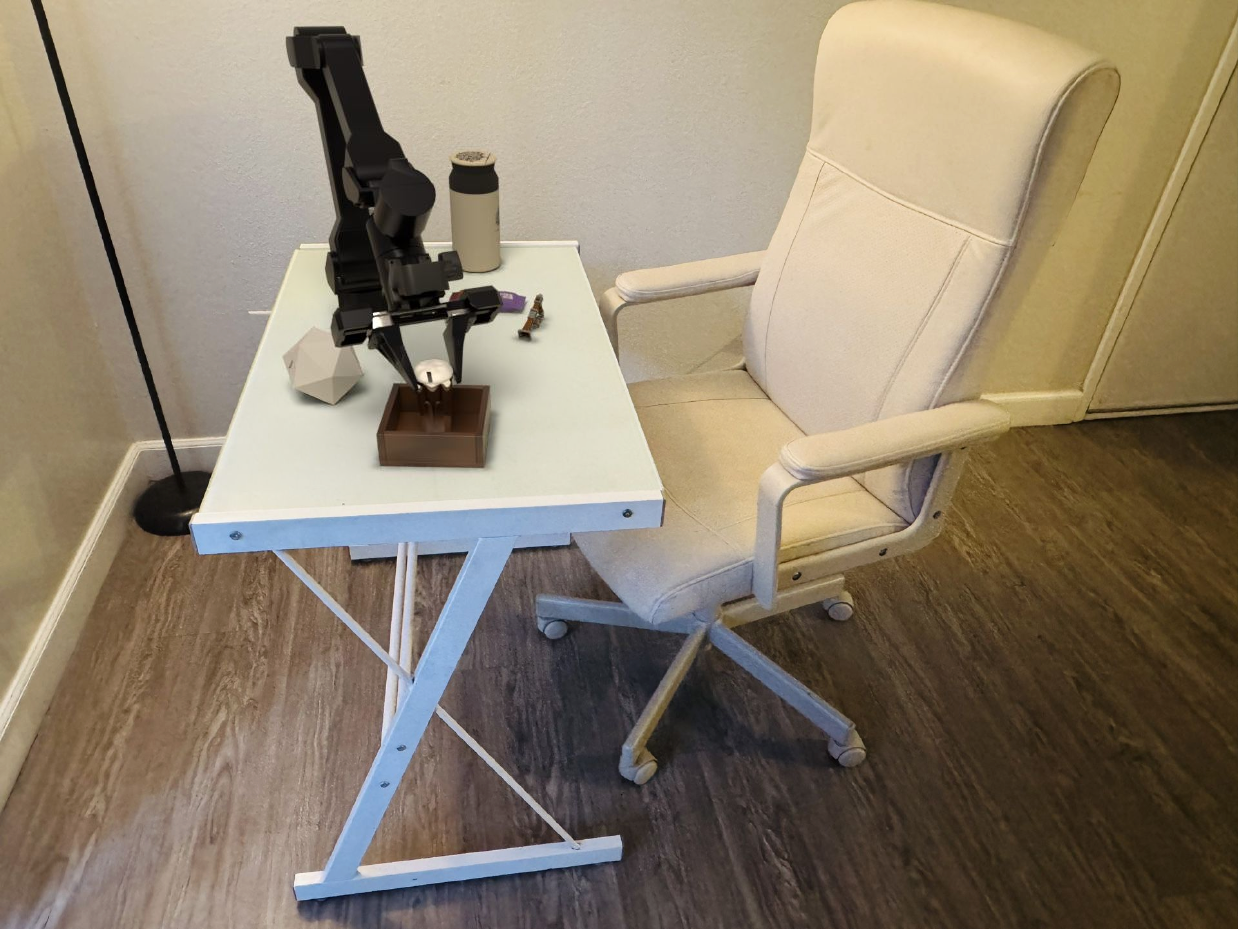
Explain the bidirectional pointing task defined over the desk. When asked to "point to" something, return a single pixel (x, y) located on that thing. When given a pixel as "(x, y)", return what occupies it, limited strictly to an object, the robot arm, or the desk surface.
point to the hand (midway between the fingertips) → (438, 387)
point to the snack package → (508, 299)
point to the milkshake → (435, 394)
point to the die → (322, 366)
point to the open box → (414, 447)
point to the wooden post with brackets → (532, 318)
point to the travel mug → (475, 210)
